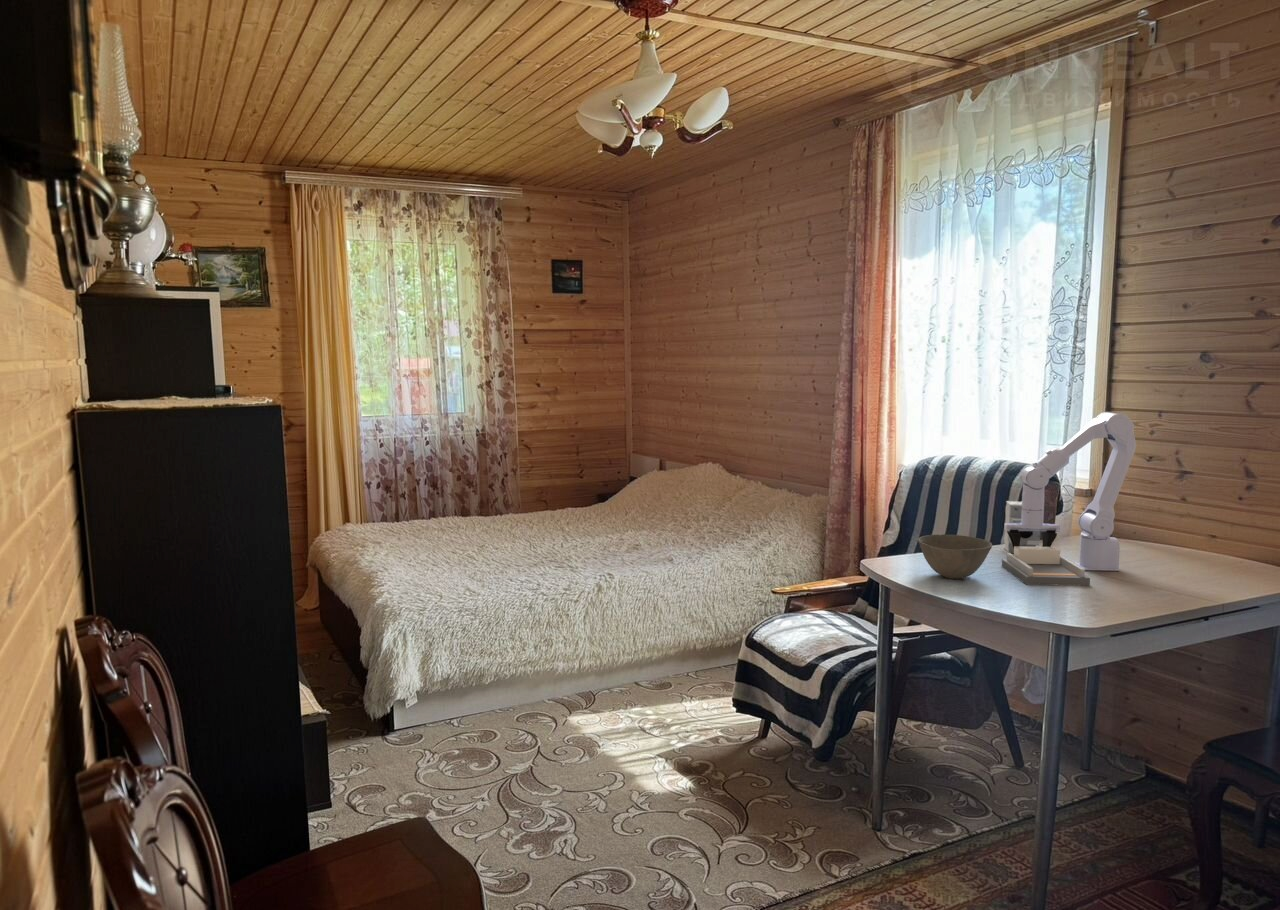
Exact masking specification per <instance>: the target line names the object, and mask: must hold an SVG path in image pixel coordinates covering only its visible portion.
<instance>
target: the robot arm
mask: <svg viewBox="0 0 1280 910" xmlns="http://www.w3.org/2000/svg"><path fill="white" fill-rule="evenodd" d="M1135 427H1136V425H1135V423H1133V421H1132V419H1130V417H1129V416H1128V415H1126V414H1124V413H1115V412H1111V411H1105V412H1101V413H1099V414H1098V415H1097V416H1096V417H1094V418H1092V419H1091V420H1089V422H1088V423H1087V424H1085V426H1084V427H1083V428H1081V429H1080V430H1079V431H1078V432H1077V433H1075V434H1074V436H1073V437H1071V438H1070V439H1069V440H1068V441H1066V443H1065V444H1063V445H1062V446H1061V447H1060V448H1058V447H1057V448H1056V447H1054V448H1052V449H1047V450H1046V451H1045V452H1044V453H1045V454H1044V455H1043V456H1042V457H1040V459H1038V460H1037V461H1034V462H1032V463H1031V465H1032V466H1028V467H1026V468H1024V469H1023V470H1022V472H1021V474H1020V475H1019V480H1020V482H1021V483H1022V493H1021V496H1022V497H1021V501H1022V514H1021V523H1006V522H1004V527H1003V528H1004V529H1003V530H1004V531H1007V533H1008V535H1009V537H1010V540H1011V542H1012V545H1013V550H1014V546H1020V539H1021V534H1019V532H1018V531H1040V532H1041V536H1042V538H1041V539H1042V546H1041V547H1052V545H1053V543H1054V541H1055V539H1056V538H1057V536H1058V533H1060V532H1061V530H1060V529H1061V526H1060V525H1059V524H1058V523H1044V513H1045V496H1046V495H1045V487H1047V485H1048V484H1049V481H1050V479H1051V478H1052V477H1054V475H1056V474H1057V473H1058V472H1060V471H1061V470H1062V469H1063V468H1065V467H1067V465H1069V463H1070V458H1071V456H1072V455H1075V453H1076V452H1078V451H1079V450H1081V449H1082V448H1083V447H1085V446H1086V445H1087V444H1089V443H1090V442H1092V441H1093V440H1095V439H1103V438H1104V439H1105V438H1106V440H1107V441H1108V443H1109V444H1110V445H1111V448H1112V450H1111V453H1110V455H1109V458H1108V461H1107V463H1106V465H1105V469H1104V471H1103V474H1102V475H1101V476H1102V477H1101V478H1100V481H1099V484H1098V487H1097V488H1096V489H1097V490H1096V492H1095V494H1094V497H1093V500H1092V501H1091V502H1090V503H1088V504H1087V506H1086V509H1085V510H1084V511H1083V512H1082V513H1081V514H1080V515H1079V517H1078V519H1077V524H1078V526H1079V528H1080V529H1081V532H1080V541H1079V542H1080V543H1079V561H1074V562H1073V563H1075V564H1076V565H1078V566H1080V567H1082V568H1083V569H1085V571H1105V572H1106V571H1110V572H1111V571H1112V572H1114V571H1116V572H1117V571H1121V569H1120V567H1119V566H1120V552H1121V551H1120V549H1121V548H1120V542H1119V540H1118V539H1117V538H1116V537H1113V536H1111V535H1112V534H1113V532H1114V529H1115V525H1114V521H1115V517H1116V512H1115V509H1114V507H1115V503H1116V501H1117V499H1118V497H1119V493H1120V491H1121V488H1122V485H1123V483H1124V481H1125V478H1126V475H1127V473H1128V470H1129V468H1130V465H1131V462H1132V460H1133V457H1134V455H1135V452H1136V449H1137V442H1136V437H1135V432H1134V430H1135Z"/></svg>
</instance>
